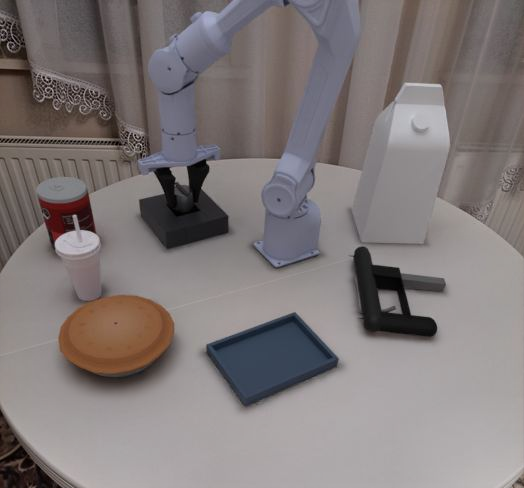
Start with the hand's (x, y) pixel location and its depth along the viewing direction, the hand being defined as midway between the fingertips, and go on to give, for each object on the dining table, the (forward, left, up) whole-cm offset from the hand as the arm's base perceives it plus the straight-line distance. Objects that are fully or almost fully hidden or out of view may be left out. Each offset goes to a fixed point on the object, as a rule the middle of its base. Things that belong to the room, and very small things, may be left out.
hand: (182, 203), depth 93 cm
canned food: (+20, -2, -5) cm, 21 cm away
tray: (+4, +38, -4) cm, 38 cm away
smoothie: (+22, +12, -5) cm, 25 cm away
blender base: (0, 0, -4) cm, 4 cm away
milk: (-35, +18, -5) cm, 40 cm away
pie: (+22, +26, -5) cm, 34 cm away
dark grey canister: (0, 0, -4) cm, 4 cm away
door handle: (-22, +36, -5) cm, 42 cm away
